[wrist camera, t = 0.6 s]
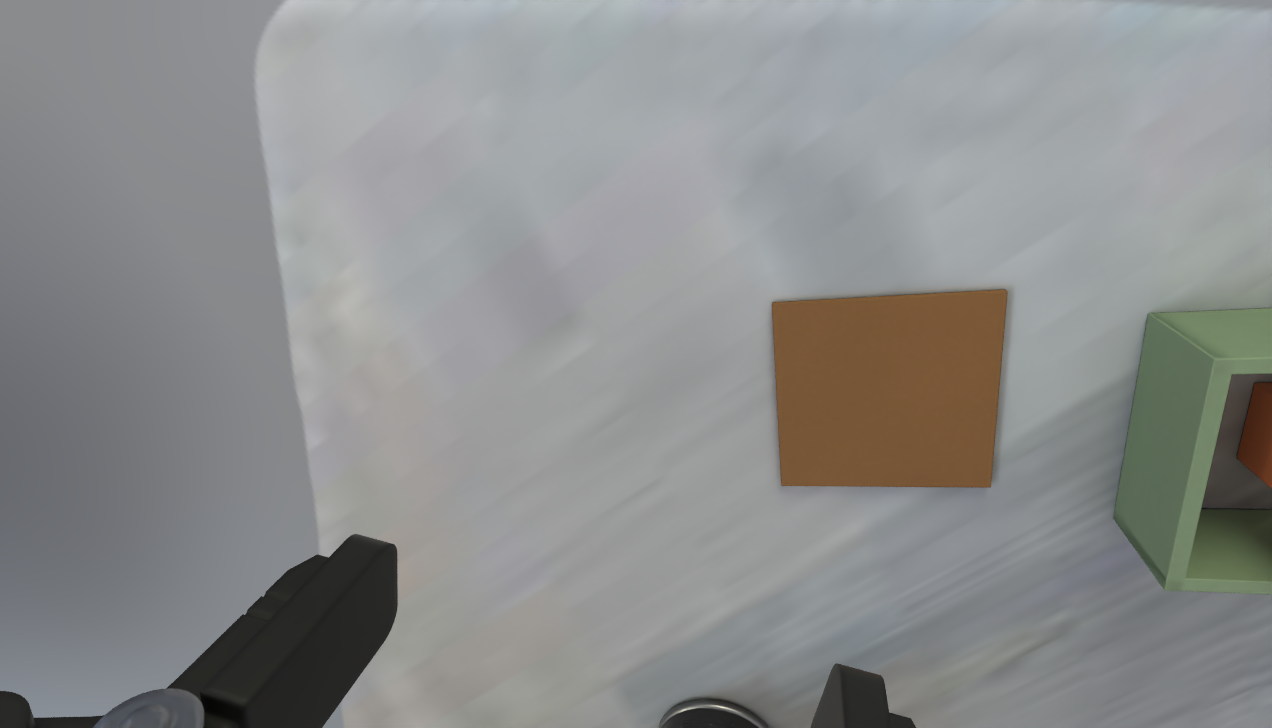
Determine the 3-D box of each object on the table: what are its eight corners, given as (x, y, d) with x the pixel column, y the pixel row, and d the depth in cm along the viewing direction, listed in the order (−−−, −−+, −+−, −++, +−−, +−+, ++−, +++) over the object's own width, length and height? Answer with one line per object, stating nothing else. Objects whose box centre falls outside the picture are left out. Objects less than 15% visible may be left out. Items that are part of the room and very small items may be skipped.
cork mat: (989, 483, 40) (990, 487, 39) (781, 482, 43) (781, 485, 42) (1005, 289, 35) (1007, 291, 35) (772, 302, 38) (771, 304, 38)
